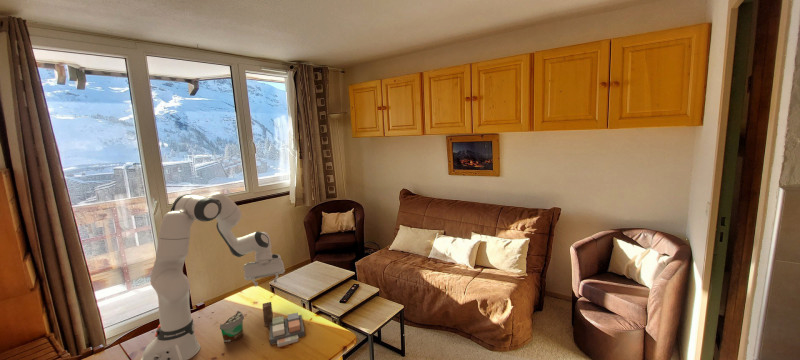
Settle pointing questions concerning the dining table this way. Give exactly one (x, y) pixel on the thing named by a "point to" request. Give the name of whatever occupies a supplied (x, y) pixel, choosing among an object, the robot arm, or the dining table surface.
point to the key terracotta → (294, 326)
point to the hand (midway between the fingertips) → (265, 284)
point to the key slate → (293, 317)
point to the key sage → (277, 320)
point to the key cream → (278, 330)
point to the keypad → (286, 334)
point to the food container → (233, 328)
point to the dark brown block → (267, 313)
